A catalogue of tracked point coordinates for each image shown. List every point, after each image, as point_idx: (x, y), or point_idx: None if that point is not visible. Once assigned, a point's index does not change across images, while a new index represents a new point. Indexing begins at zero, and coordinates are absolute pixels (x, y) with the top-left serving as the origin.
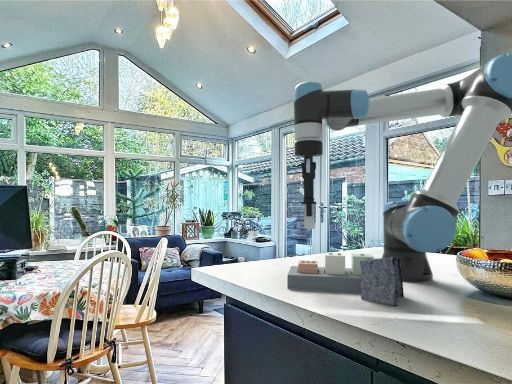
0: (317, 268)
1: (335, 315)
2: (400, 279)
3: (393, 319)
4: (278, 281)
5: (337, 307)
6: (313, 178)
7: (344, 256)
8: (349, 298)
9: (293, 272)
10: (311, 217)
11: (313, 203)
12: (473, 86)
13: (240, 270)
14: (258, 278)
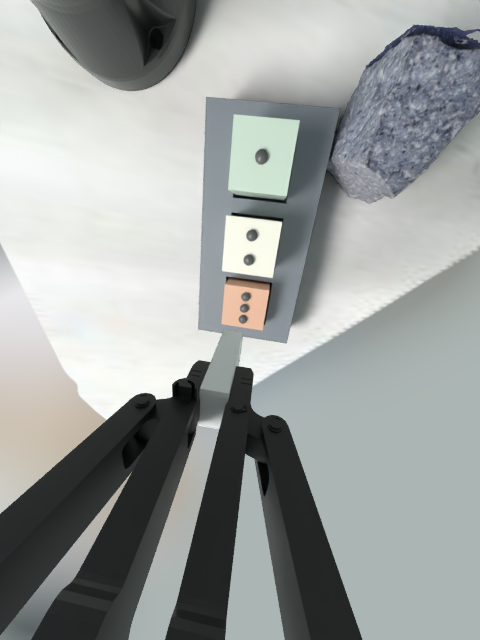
0: (269, 287)
1: (424, 267)
2: (375, 63)
3: (474, 159)
4: (207, 337)
5: (381, 255)
6: (225, 619)
7: (281, 224)
8: (325, 220)
9: (264, 331)
10: (236, 364)
11: (247, 403)
12: None
13: (138, 391)
14: (191, 366)
